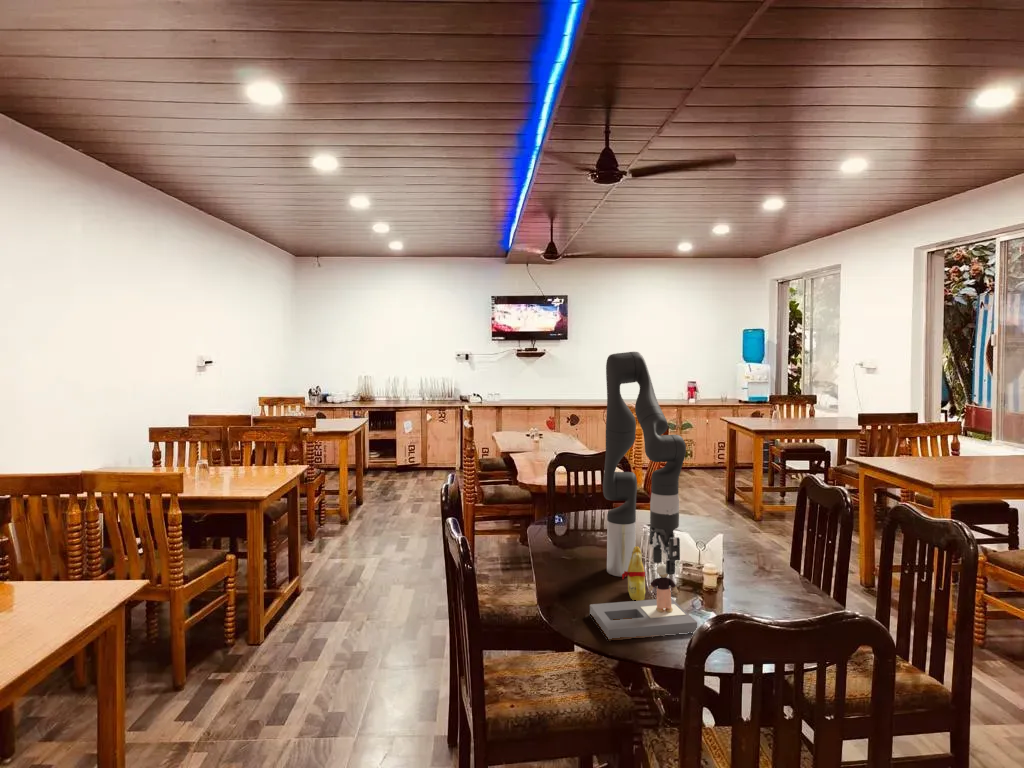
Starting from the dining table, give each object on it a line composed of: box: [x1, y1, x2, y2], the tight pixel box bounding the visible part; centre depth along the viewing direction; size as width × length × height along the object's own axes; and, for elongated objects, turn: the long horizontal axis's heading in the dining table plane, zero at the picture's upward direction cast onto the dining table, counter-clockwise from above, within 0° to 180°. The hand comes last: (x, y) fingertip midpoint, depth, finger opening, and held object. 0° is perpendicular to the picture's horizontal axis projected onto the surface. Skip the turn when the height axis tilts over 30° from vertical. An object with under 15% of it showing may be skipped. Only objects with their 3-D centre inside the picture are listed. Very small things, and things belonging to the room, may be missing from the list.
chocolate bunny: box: [621, 546, 646, 601], centre depth 192 cm, size 7×11×15 cm, turn 175°
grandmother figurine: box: [648, 563, 679, 613], centre depth 173 cm, size 8×4×13 cm, turn 95°
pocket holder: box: [589, 597, 698, 639], centre depth 172 cm, size 16×24×3 cm, turn 100°
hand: (663, 568), depth 173 cm, fingers open, 8 cm apart
